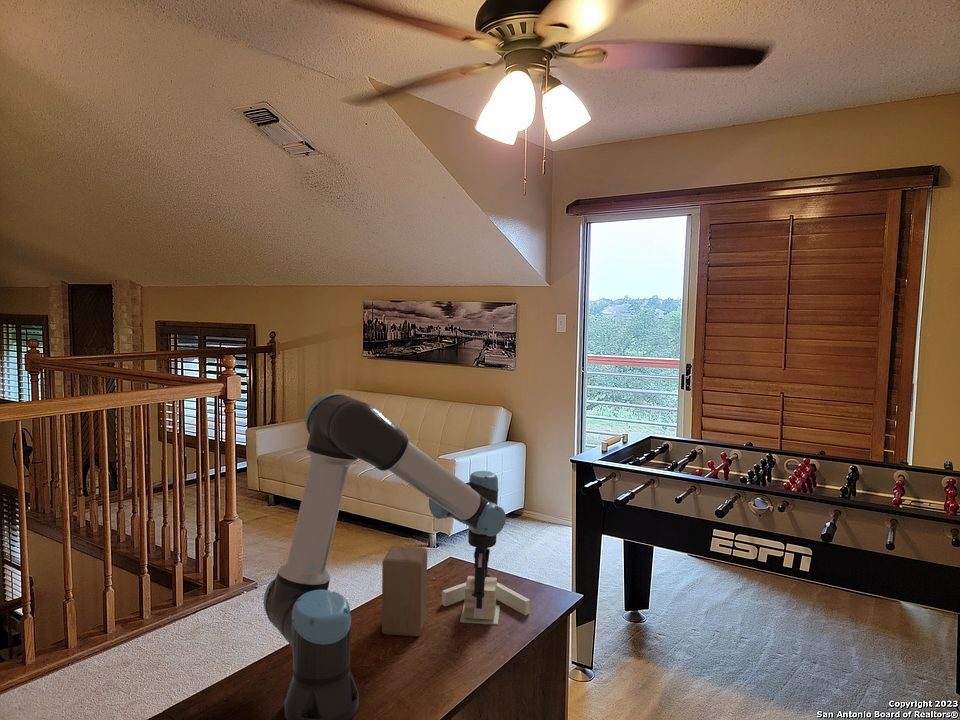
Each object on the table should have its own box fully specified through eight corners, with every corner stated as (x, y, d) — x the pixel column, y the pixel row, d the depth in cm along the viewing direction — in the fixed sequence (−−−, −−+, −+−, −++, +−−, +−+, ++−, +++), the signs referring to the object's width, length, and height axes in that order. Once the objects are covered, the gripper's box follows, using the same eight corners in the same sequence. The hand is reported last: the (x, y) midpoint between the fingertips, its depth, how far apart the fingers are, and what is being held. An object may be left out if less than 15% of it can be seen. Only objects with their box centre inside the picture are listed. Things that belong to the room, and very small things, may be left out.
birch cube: (494, 619, 176) (495, 591, 175) (464, 617, 176) (464, 589, 175) (495, 605, 184) (496, 577, 183) (467, 603, 184) (467, 575, 183)
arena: (479, 634, 170) (479, 620, 169) (435, 606, 184) (436, 592, 183) (529, 613, 181) (530, 599, 181) (484, 588, 195) (485, 575, 195)
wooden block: (426, 618, 177) (428, 546, 175) (419, 638, 167) (420, 562, 165) (390, 616, 178) (390, 544, 176) (380, 635, 168) (381, 560, 166)
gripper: (494, 545, 167) (491, 631, 169) (498, 516, 187) (496, 593, 190) (464, 543, 167) (462, 629, 170) (472, 515, 188) (470, 591, 191)
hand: (480, 610), depth 180 cm, fingers closed on birch cube, 8 cm apart
